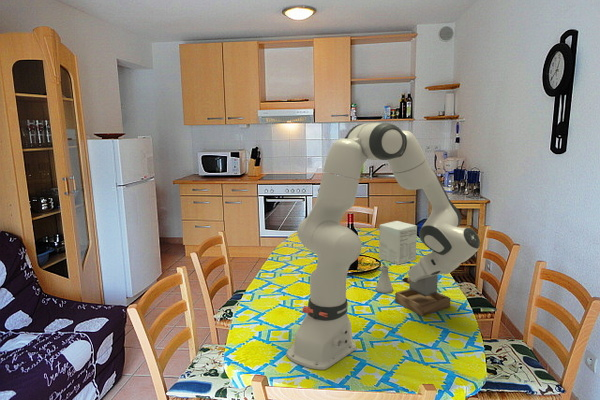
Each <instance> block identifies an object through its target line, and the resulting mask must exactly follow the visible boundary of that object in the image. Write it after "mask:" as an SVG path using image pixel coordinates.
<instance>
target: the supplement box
mask: <svg viewBox="0 0 600 400" xmlns="http://www.w3.org/2000/svg"><path fill="white" fill-rule="evenodd" d="M417 232H418V225H415V224H412V223H408V222H403V221H400V220H394V221H390V222H386V223H385V222H384V223H382V224H379V237H378V238H379V239H378V241H379V244H378V246H379V248H378V251H379V252H378V258H379V259H381V260H384V261H387V262H389V263H393V264H395V265H402V264H406V263H408V262H412V261H414V260H415V261H416V259H417V237H418V235H417V234H418V233H417Z"/></svg>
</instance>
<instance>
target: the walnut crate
mask: <svg viewBox="0 0 600 400" xmlns="http://www.w3.org/2000/svg"><path fill="white" fill-rule="evenodd" d="M394 293H395V294H394V297H395V298H394V301H395V303H397V304H398V305H401V306H403V307H404V308H406V309H408V310H410V311H411V312H413V313H416V314H417V315H418V316H420V317H424V316H427V315H429V314H433V313H436V312H439V311H443V310H445V309H449V308H451V298H450V297H448V296H447V295H445V294H443V293H440V292H438V291H437V293H435V294H432V295H429V296H426V297H425V296H423V295H421V294H419V293H417V292H415V291H412V290H410V289H409V288H407V289H404V290H401V291H397V292H394Z"/></svg>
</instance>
